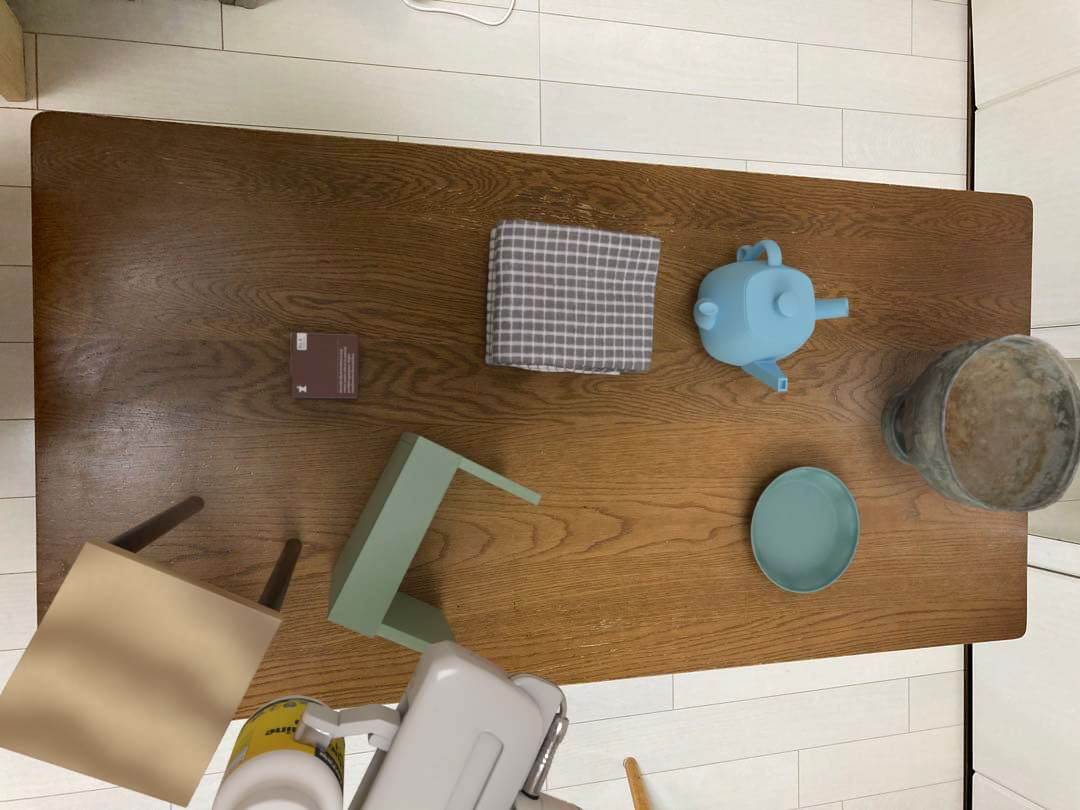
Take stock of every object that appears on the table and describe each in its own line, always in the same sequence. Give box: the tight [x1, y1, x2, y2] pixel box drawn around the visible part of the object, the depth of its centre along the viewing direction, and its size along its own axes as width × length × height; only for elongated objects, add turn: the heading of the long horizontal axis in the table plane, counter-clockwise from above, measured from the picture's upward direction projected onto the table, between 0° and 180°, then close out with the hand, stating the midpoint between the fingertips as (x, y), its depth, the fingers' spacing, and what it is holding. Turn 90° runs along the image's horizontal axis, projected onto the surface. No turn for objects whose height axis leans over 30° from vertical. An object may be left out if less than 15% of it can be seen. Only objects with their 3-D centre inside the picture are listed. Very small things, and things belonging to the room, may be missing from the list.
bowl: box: [881, 333, 1080, 513], centre depth 82 cm, size 20×19×15 cm
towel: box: [484, 218, 662, 376], centre depth 74 cm, size 15×18×8 cm
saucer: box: [750, 466, 861, 594], centre depth 84 cm, size 15×15×3 cm
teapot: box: [693, 239, 850, 392], centre depth 78 cm, size 15×14×11 cm
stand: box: [0, 537, 285, 809], centre depth 42 cm, size 12×12×2 cm
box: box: [289, 331, 360, 402], centre depth 68 cm, size 6×6×7 cm
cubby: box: [326, 430, 543, 654], centre depth 66 cm, size 16×12×16 cm
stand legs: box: [106, 495, 303, 612], centre depth 56 cm, size 12×12×26 cm
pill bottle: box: [211, 694, 346, 810], centre depth 37 cm, size 6×6×11 cm
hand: (264, 790), depth 36 cm, fingers closed on pill bottle, 6 cm apart
